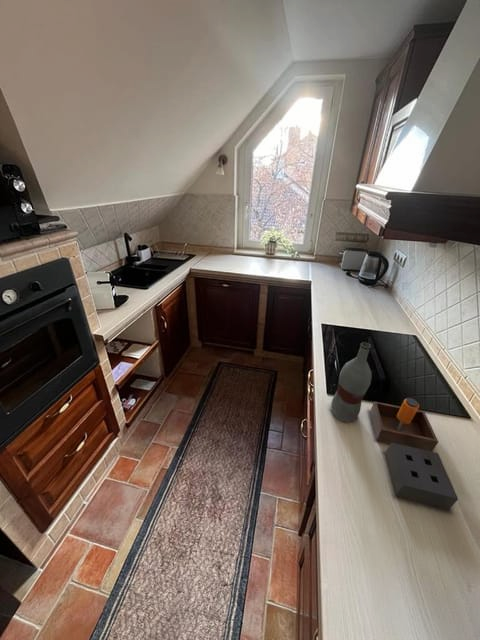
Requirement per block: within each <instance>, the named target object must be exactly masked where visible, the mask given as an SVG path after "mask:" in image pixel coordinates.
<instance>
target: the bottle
mask: <svg viewBox="0 0 480 640" xmlns="http://www.w3.org/2000/svg"><path fill="white" fill-rule="evenodd" d="M371 347H372V345H371V344H370V343H369V342H365V341H364V342H361V343H360V347H359V350H358V352H357V355H356V357H354V358H352V359H351V360H349V361H346V363H344V365H343V366H342V368H341V369H340V372H339V376H338V383H337V389H336V391H335V393H334V395H333V397H332V400H331V406H330V409H331V413H332V415H333V416H334V417H335V418H336V419H337V420H339V421H341V422H343V423H344V422H346V423H352V422H354V421H355V420H356V419H357V417H358V416H359V414H360V412H361V408H362V402H363V399H364V398H365V395H366V393H367V391H368V390H369V387H370V386H371V382H372V376H373V375H372V370H371V368H370V365H369V363H368V361H367V359H368V355H369V352H370V350H371Z"/></svg>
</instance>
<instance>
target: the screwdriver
mask: <svg viewBox="0 0 480 640" xmlns="http://www.w3.org/2000/svg"><path fill="white" fill-rule="evenodd" d="M400 407H401V408H400V410H399V412H398V414H397V418H398V420H399V421H401V422H400V424H399V425H398V427H397V431H399V430H400V428H401V426H402V424H403V423H405V424H409V423H411V421H412V419H413V417H414V415H415V414H416V412H417V410H419V408H420V404H419V402H418V401H417V400H416V399H414V398H412V397H407V398H404V400H403V402H402V403H401V405H400Z"/></svg>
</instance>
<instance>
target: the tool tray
mask: <svg viewBox="0 0 480 640" xmlns="http://www.w3.org/2000/svg"><path fill="white" fill-rule="evenodd" d="M400 408H401V405H400V406H399V405H394V404H389V403H384V402H378V401H373V403H372V405H371V408H370V411H369V415H370V418H371V423H372V427H373V433H374V437H375V440H376V441H377V442H381V443H386V444H390V443H396V444H400V445H405V446H409V447H414V448H418V449H422V450H427V451H431V452H434V450H435V448H436V446H438V444H439V440H438V438H437V435H436V433H435V431H434V430H433V427H432V425H431V423H430V420H429V418H428V416H427V414H426V412H425V410H420V409H418V410H417V412H416V414H415V415H414V417H413V419H412V421H411V423H409V424H405V423H403V424H402V426H401V428H400V430H399V431H397V427H398V425H399V424H400V422H401V421H399V420H398V418H397V414H398V412H399V410H400Z"/></svg>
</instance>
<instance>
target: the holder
mask: <svg viewBox="0 0 480 640" xmlns="http://www.w3.org/2000/svg"><path fill="white" fill-rule="evenodd" d="M384 453H385V458H386V463H387V467H388V471H389V475H390V479H391V483H392V486H393V487H392V488H393V490H394V495H395V497H396V498H400V499H404V500H407V501H411V502H415V503H418V504H422V505H427V506H430V507H435V508H438V509H442V510H445V511H446V510H447V511H450V510H451V508H453V506H454V505H455V503H456V502H457V501H458V500H459V497H458V495H457V493H456V490H455V489H454V486H453V484H452V482H451V480H450V477H449V475H448V472H447V470H446V468H445V466H444V463H443V461H442V458H441V456H440V454H439V452H435V451H432V452H431V451H427V450H422V449H418V448H414V447H409V446H405V445H400V444H396V443H389V446H388V447H387V449H386V451H385V452H384Z"/></svg>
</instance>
